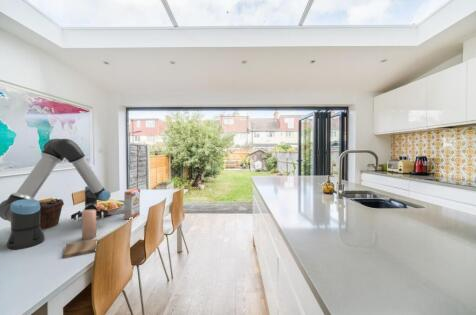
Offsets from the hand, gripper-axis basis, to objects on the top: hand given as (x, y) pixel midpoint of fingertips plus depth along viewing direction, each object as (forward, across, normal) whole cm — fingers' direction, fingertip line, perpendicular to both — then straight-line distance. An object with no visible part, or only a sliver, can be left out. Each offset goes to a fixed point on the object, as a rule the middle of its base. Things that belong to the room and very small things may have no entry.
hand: (89, 218), depth 140 cm
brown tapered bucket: (-28, +25, -9) cm, 38 cm away
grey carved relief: (-40, -22, -10) cm, 46 cm away
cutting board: (+26, +3, -9) cm, 27 cm away
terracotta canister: (+10, 0, -9) cm, 13 cm away
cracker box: (-22, -27, -9) cm, 36 cm away
